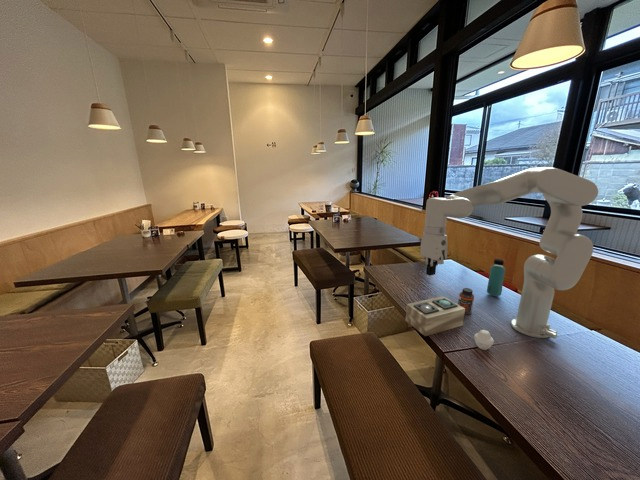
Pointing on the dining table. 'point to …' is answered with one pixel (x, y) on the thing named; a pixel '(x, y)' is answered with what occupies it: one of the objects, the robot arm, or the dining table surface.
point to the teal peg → (444, 303)
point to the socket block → (434, 316)
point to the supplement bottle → (466, 300)
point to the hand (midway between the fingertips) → (430, 274)
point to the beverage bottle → (496, 278)
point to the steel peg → (426, 307)
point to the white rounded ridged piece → (483, 339)
